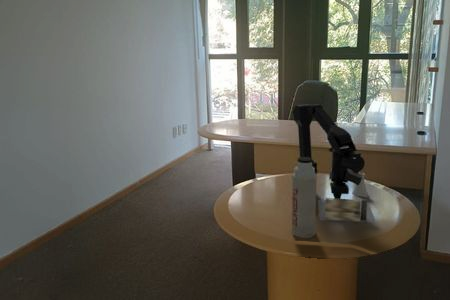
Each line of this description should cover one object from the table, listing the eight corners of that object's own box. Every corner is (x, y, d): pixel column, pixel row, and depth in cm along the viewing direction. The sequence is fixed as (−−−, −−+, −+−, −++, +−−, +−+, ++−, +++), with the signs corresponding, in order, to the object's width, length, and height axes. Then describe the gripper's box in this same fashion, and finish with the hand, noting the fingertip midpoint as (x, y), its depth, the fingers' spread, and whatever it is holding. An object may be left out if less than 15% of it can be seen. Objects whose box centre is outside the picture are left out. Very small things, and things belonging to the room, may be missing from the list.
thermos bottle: (295, 241, 137) (296, 162, 130) (289, 230, 145) (290, 155, 138) (317, 239, 138) (320, 161, 131) (311, 229, 146) (313, 154, 138)
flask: (366, 192, 178) (367, 171, 175) (370, 199, 171) (371, 176, 168) (349, 192, 179) (350, 171, 176) (352, 198, 172) (354, 176, 169)
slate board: (319, 222, 151) (319, 219, 150) (317, 201, 170) (318, 199, 169) (375, 225, 147) (376, 222, 147) (367, 203, 166) (367, 201, 166)
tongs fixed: (365, 217, 151) (366, 200, 149) (367, 221, 148) (368, 203, 146) (324, 215, 154) (325, 198, 152) (325, 219, 151) (325, 202, 149)
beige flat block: (359, 214, 153) (359, 200, 151) (359, 216, 151) (360, 201, 150) (325, 212, 156) (325, 197, 155) (325, 213, 155) (325, 199, 153)
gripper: (364, 173, 144) (361, 213, 148) (358, 158, 162) (356, 194, 166) (332, 172, 146) (330, 211, 150) (329, 157, 164) (328, 193, 168)
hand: (337, 202), depth 158 cm, fingers closed
